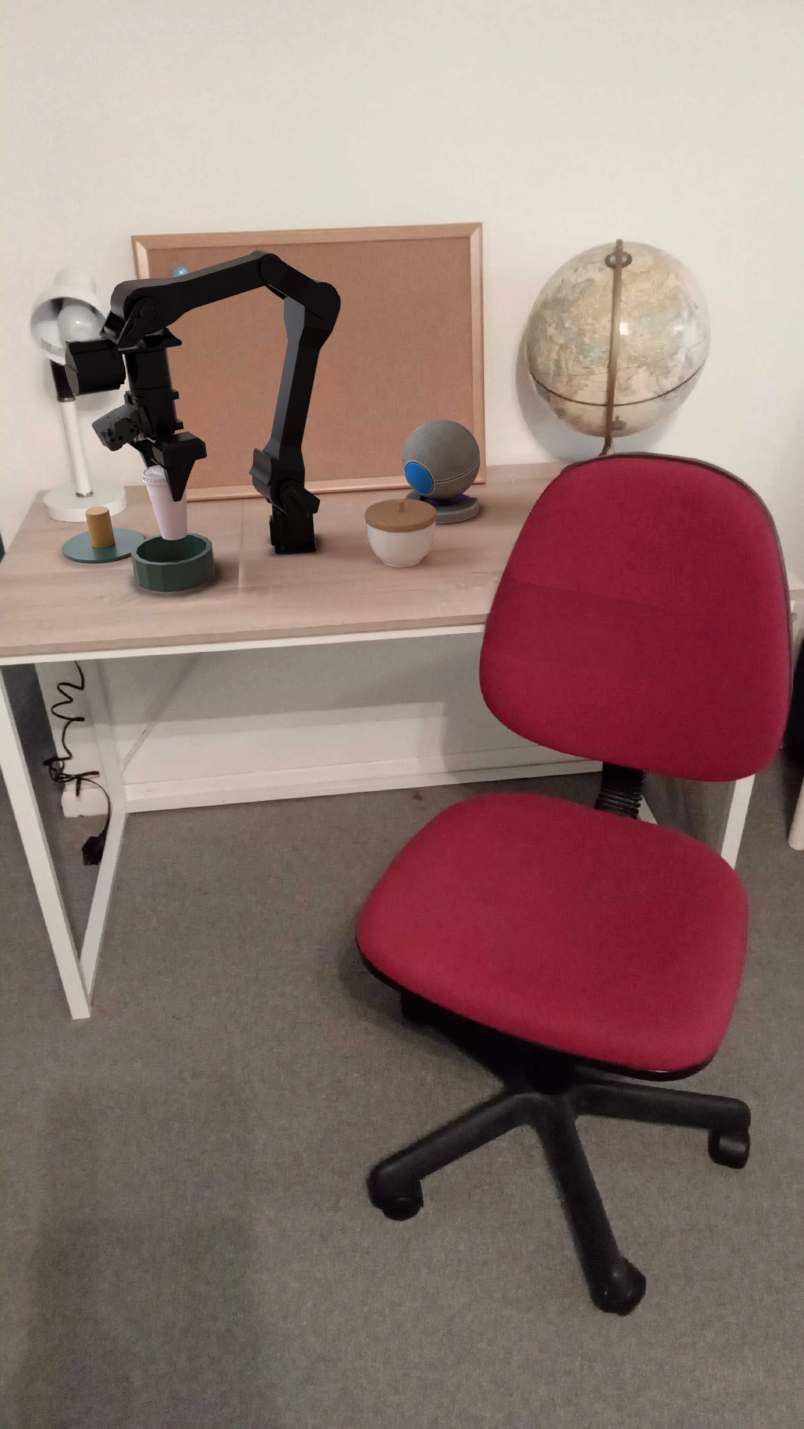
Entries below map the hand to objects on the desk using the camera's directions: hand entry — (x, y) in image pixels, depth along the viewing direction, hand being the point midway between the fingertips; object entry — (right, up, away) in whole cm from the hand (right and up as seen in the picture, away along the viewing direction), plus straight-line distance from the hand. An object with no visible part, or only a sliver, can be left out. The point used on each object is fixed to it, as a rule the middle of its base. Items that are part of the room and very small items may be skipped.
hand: (168, 494), depth 142 cm
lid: (-14, -5, +15) cm, 21 cm away
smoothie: (0, -5, +3) cm, 6 cm away
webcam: (+40, +3, +27) cm, 48 cm away
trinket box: (+33, -8, +10) cm, 36 cm away
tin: (0, -11, +6) cm, 13 cm away
